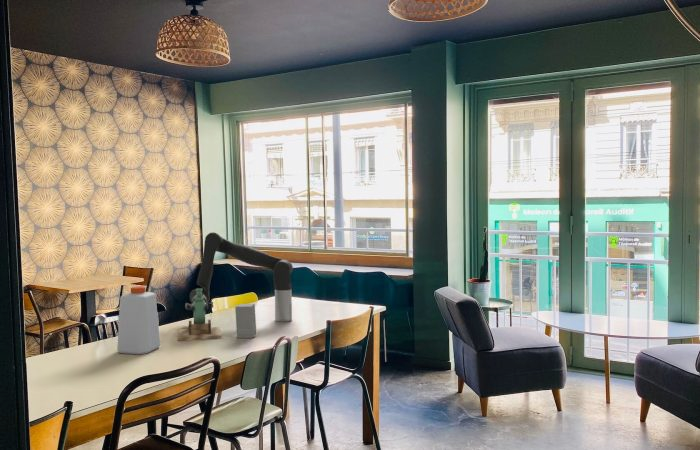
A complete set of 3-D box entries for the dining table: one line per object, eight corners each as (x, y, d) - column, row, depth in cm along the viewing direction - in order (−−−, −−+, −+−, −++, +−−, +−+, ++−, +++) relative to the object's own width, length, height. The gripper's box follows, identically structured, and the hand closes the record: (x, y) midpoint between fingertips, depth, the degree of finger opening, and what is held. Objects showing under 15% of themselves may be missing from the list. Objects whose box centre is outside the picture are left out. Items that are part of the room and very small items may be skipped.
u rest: (220, 329, 279) (220, 317, 279) (221, 338, 262) (221, 324, 262) (179, 332, 274) (179, 319, 274) (178, 340, 257) (177, 327, 256)
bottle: (206, 325, 271) (205, 287, 270) (204, 328, 266) (203, 289, 265) (194, 325, 271) (194, 287, 270) (192, 328, 265) (192, 289, 264)
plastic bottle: (144, 355, 232) (143, 290, 231) (113, 353, 235) (111, 289, 234) (163, 346, 247) (162, 285, 246) (133, 344, 250) (132, 284, 249)
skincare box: (256, 335, 267) (256, 303, 267) (252, 338, 260) (252, 306, 260) (239, 334, 268) (239, 303, 268) (235, 338, 261) (234, 305, 260)
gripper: (185, 295, 279) (183, 301, 263) (213, 294, 283) (214, 300, 267) (185, 310, 280) (184, 317, 263) (213, 308, 283) (214, 315, 267)
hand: (199, 308), depth 265 cm, fingers closed on bottle, 5 cm apart
